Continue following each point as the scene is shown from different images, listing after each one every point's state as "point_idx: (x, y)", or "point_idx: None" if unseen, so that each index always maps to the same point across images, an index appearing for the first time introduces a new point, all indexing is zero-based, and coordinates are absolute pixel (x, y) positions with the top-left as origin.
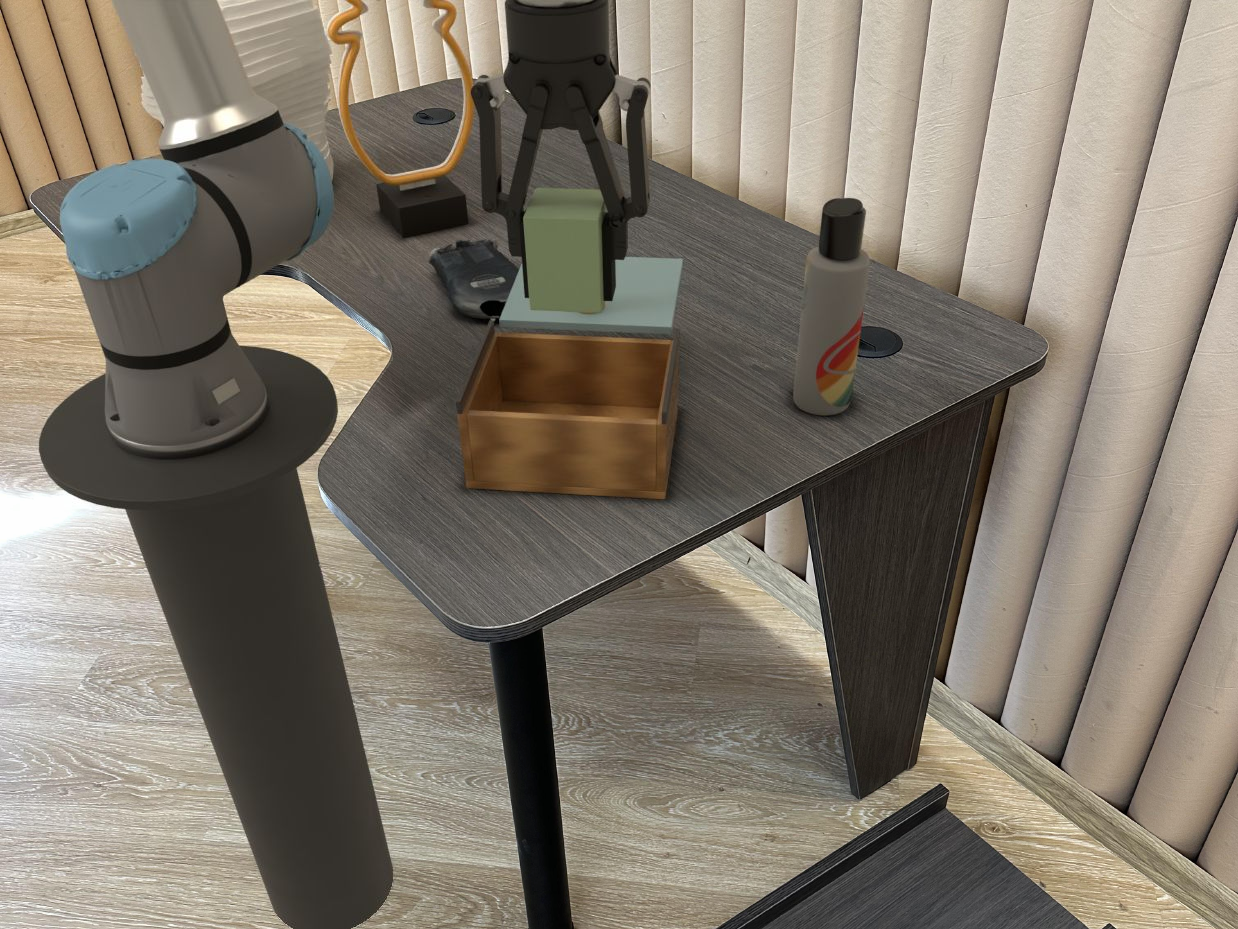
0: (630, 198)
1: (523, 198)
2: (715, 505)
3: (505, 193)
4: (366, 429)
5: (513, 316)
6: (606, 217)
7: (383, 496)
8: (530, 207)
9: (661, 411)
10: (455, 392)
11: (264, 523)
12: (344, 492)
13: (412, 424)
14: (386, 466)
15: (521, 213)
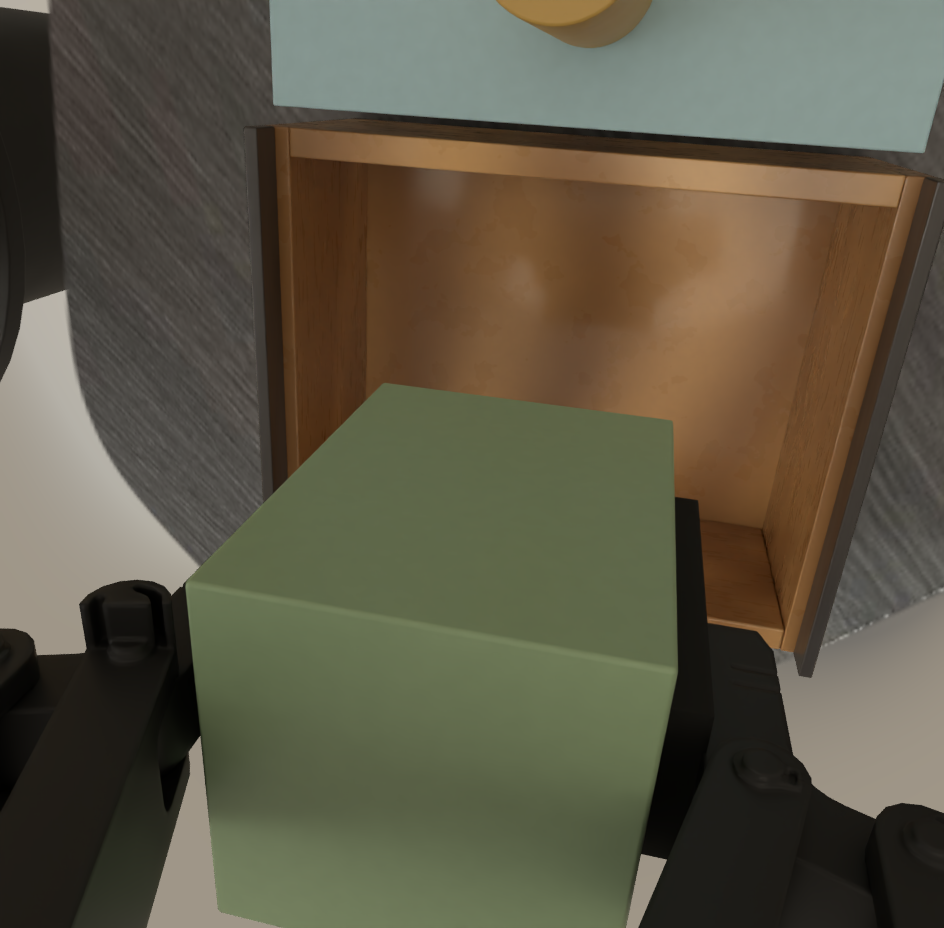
0: (834, 907)
1: (164, 860)
2: (891, 563)
3: (41, 709)
4: (89, 248)
5: (316, 77)
6: (661, 768)
7: (207, 488)
8: (224, 828)
9: (801, 598)
10: (235, 60)
11: (25, 270)
12: (135, 472)
13: (178, 226)
14: (179, 392)
15: (189, 721)
